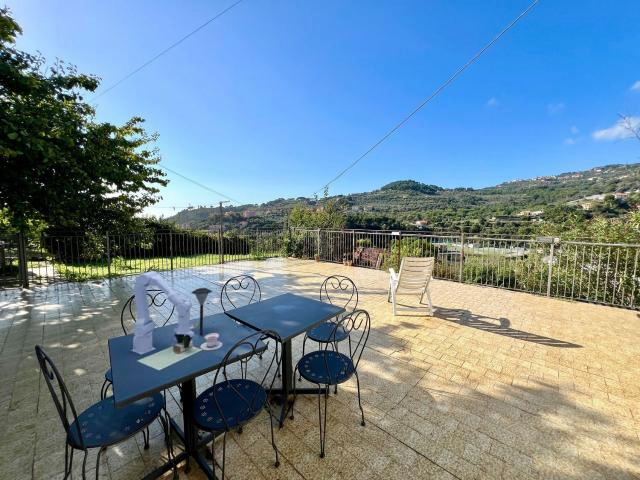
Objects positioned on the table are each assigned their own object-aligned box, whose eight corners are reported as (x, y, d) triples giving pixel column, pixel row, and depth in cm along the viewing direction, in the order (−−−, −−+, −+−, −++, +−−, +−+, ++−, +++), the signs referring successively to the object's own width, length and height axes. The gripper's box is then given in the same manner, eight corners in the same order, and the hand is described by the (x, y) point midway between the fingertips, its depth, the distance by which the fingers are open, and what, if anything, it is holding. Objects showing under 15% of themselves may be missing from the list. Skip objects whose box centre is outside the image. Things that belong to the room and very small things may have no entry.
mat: (136, 361, 135) (136, 360, 135) (181, 343, 157) (181, 342, 157) (159, 371, 127) (159, 369, 127) (202, 350, 149) (202, 349, 149)
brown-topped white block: (187, 344, 152) (187, 339, 152) (192, 346, 150) (192, 341, 150) (173, 351, 144) (173, 345, 144) (178, 353, 142) (178, 347, 142)
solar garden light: (206, 339, 163) (207, 291, 162) (186, 338, 164) (187, 291, 162) (214, 331, 176) (215, 287, 174) (196, 331, 176) (197, 286, 175)
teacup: (214, 352, 148) (214, 341, 148) (195, 349, 151) (195, 338, 150) (226, 343, 160) (226, 333, 160) (208, 340, 162) (208, 330, 162)
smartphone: (202, 323, 189) (187, 330, 174) (202, 325, 189) (187, 332, 174) (194, 322, 190) (178, 329, 176) (193, 323, 190) (178, 331, 176)
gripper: (168, 322, 146) (168, 346, 147) (186, 327, 140) (186, 352, 140) (180, 318, 153) (180, 341, 153) (197, 323, 146) (197, 347, 147)
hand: (183, 346), depth 147 cm, fingers closed on brown-topped white block, 4 cm apart
